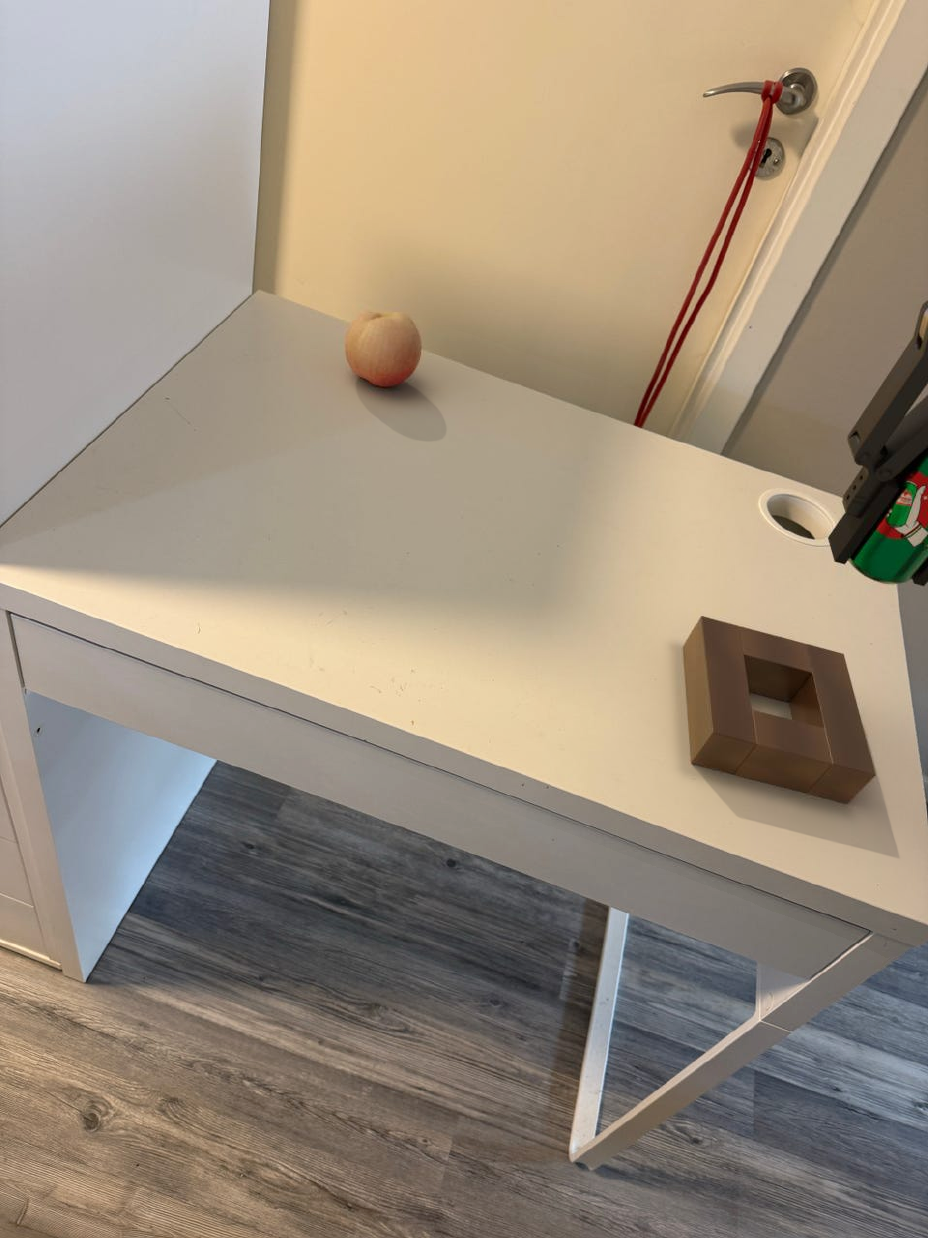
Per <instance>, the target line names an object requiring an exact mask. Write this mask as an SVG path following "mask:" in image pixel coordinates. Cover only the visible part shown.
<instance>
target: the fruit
mask: <svg viewBox="0 0 928 1238" xmlns="http://www.w3.org/2000/svg"><path fill="white" fill-rule="evenodd" d="M422 348H423V346H422V339H421V335H420V332H419V329H418V328H417V325H416V324H415V323H414V321H413V319H412V318H411V317H410V316H409V315H407V314H406V313H403V312H400V311H377V312H376V311H375V312H374V311H365V312H362V313H360V314H358V315H357V317H356V318H354V319H353V320H352V322H351V324H350V325H349V327H348V329H347V331H346V334H345V341H344V351H345V358H346V360H347V364H348V366H349V367H350V369H351V371H352V373H354V374H355V375H356V376H358V377H360V378H361V379H365V380H366V381H368V382H369V383H370V384H371V385H374V386H378V387H381V388H382V387H383V388H384V387H385V388H387V387H388V388H389V387H395V386H398V385H399V384H402V383H404V382H405V381H407V379H409V378H410V377H411V376H412V375H413V374H414V372H415V370H416V369H417V367H418V366H419V363H420V361H421V357H422Z"/></svg>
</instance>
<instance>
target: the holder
mask: <svg viewBox="0 0 928 1238" xmlns="http://www.w3.org/2000/svg"><path fill="white" fill-rule="evenodd" d="M682 651H683V652H682V653H683V667H684V668H683V670H684V682H685V695H686V709H687V711H686V712H687V723H688V725H687V726H688V736H689V751H690V752H689V753H690V763H691V764H692V765H696V766H701V767H704V768H708V769H712V770H715V771H720V772H723V773H727V774H731V775H735V776H738V777H743V778H746V779H750V780H755V781H759V782H762V783H765V784H769V785H774V786H777V787H781V788H786V789H788V790H793V791H797V792H801V793H805V794H809V795H813V796H817V797H820V798H823V799H824V798H825V799H827V800H828V799H829V800H832V801H836V802H840V803H844V804H850V802H852V800H853V799H854V798H856V796H857V795H858V794H859V793H860V792H861V791H863V789H864V788H865V787H866V786H867V785H868V784H869V783H870V782H872V780H873V779H874V778H875V777H876V776H877V774H876V770H875V766H874V763H873V758H872V754H871V752H870V748H869V744H868V740H867V736H866V733H865V729H864V725H863V720H862V717H861V714H860V710H859V706H858V702H857V698H856V694H855V691H854V687H853V684H852V680H851V676H850V672H849V669H848V664H847V662H846V658H845V653H843V652H839V651H835V650H831V649H827V648H824V647H820V646H816V645H813V644H809V643H805V642H801V641H797V640H794V639H791V638H786V637H783V636H779V635H776V634H771V633H768V632H763V631H760V630H757V629H753V628H749V627H746V626H742V625H737V624H734V623H730V622H726V621H723V620H718V619H715V618H711V617H707V616H703V615H700V617H699V618H698V620H697V622H696V624H695V626H694V628H692V630H691V632H690V634H689V635H688V637H687V638H686V640H685V642H684V644H683V646H682ZM750 693H753V694H756V695H760V696H764V697H767V698H772V699H775V700H779V701H782V702H787V703H789V709H790V713H791V718H792V719H790V718H786V717H783V716H779V715H775V714H772V713H767V712H764V711H760V710H756V709H752V702H751V695H750Z"/></svg>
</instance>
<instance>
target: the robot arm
mask: <svg viewBox="0 0 928 1238" xmlns="http://www.w3.org/2000/svg"><path fill="white" fill-rule="evenodd" d="M927 385H928V299H927V300H926V301H925V302H924V303H922V305H921V307H920V309H919V313H918V317H917V322H916V325H915V328H914V331H913V336H912V337H911V339H910V340H909V342H908V344H907V345H906V347H905V348H904V350H903V351H902V353H901V354H900V356H899V357H898V359H897V361H896V362H895V363H894V365H893V366H892V368H891V370H890V371H889V373H888V374H887V375H886V377H885V379H884V380H883V382H882V383H881V385H880V386H879V387H878V389H877V391H876V393H875V394H874V395H873V397H872V399H871V400H870V402H868V404H867V406H866V407H865V409H864V410H863V412H862V413H861V415H860V417H858V420H857V421H856V423H855V424H854V426H853V427H852V429H851V430H850V431H849V433H848V434H847V437H846V442H847V444H848V447H849V450H850V452H851V456H852V458H853V461H854V463H855V464H856V465H858V466H861V468H860V470H859V472H858V473H857V474H856V476H855V477H854V479H853V480H852V482H851V484H850V485H849V487H848V488H847V489H846V490H845V492H844V493H843V495H842V501H841V503H842V506H843V509H844V513H843V515H842V516H841V518H840V519H839V521H838V522H837V523H836V525H835V527H834V528H833V529H832V531H831V532H830V534H829V535H828V537H827V541H828V543H829V547H830V551H831V554H832V558H833V561H834V562H835V563H838V564H841V565H846V564H847V562H849V561H848V560H849V558H850V557H851V555H852V554H853V553H854V551H855V550H856V549H857V547H858V546H859V544H860V543H861V542H862V540H863V539H864V537H865V536H866V535H867V533H868V532H869V531H870V529H871V528H872V526H873V525H874V524H875V522H876V521H877V520H878V518H879V517H880V515H881V514H882V513H883V511H884V510H885V509H886V507H887V506H888V504H889V503H890V502H891V500H892V499H893V497H894V496H895V495H896V493H897V492H898V491H899V486H898V484H897V481H896V479H895V476H896V475H897V474H898V473H899V472H900V471H902V470H903V469H904V468H905V467H906V466H907V465H908V464H909V463H911V462H912V461H913V460H914V459H915V458H916V457H917V456H918V455H919V454H921V453H922V452H923V451H924V450H925V449H926V448H927V447H928V394H927V395H925V397H924V398H923V399H921V400H920V401H919V402H918V403H917V404H916V405H915V406H914V407H913V408H912V406H913V405H914V404H915V403H916V401H917V399H918V398H919V397H920V395H921V394H922V392H923V391H924V390H925V389H926V387H927ZM911 580H912V582H913V584H914V585H918V586H921V587H925V586H926V585H927V583H928V559H927V560H926V562H925V563H924V564H923V565H922V567H921V568H920V569H919V570H918V571H917V573H916V574H915V575H914V576H913V578H912V579H911Z"/></svg>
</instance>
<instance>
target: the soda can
mask: <svg viewBox="0 0 928 1238" xmlns="http://www.w3.org/2000/svg"><path fill="white" fill-rule="evenodd" d="M895 479H896V481H897V484H898V486H899V491H898V492H897V493H896V495H895V496H894V497H893V499H892V500H891V502H890V503H889V504H888V506H887V507H886V509H885V510H884V511H883V513H882V514H881V515H880V517H879V518H878V520H877V521H876V522H875V524H874V525H873V526H872V528H871V529H870V531H869V532H868V533H867V535H866V536H865V537H864V539H863V540H862V542H861V543H860V544H859V546H858V547H857V549H856V550H855V551H854V553H853V554H852V555H851V557H850V558H849V560H848V561H847V562H848V563H849V564H850V565H851V566H852V568H853V569H855V570H856V571H857V572H858V573H859V574H861V575H863V576H864V577H866V578H867V579H870V580H872V581H874V582H877V583H879V584H883V585H900V584H905V583H907V582H909V581H911V580H912V578H913V576H914V575H915V574H916V573H917V571H918V570H919V569H920V568H921V567H922V565H923V564H924V563H925V562H926V560H927V559H928V447H927V448H926V449H925V450H924V451H923V452H922V453H921V454H919V455H918V456H917V457H916V458H915V459H914V460H913V461H912V462H911V463H909V464H908V465H907V466H906V467H905V468H904V469H903V470H902V471H900V472H899V473H898V474H897V475H896V476H895Z"/></svg>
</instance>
